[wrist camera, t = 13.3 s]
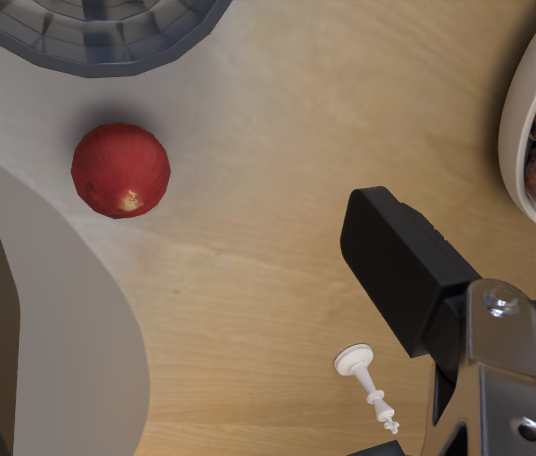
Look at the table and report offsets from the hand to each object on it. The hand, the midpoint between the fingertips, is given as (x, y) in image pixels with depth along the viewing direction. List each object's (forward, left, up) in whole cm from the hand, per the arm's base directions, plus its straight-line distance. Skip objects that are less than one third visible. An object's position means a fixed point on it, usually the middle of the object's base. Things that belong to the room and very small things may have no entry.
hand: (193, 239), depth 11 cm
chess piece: (+40, +23, -23) cm, 51 cm away
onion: (+9, -1, -23) cm, 24 cm away
